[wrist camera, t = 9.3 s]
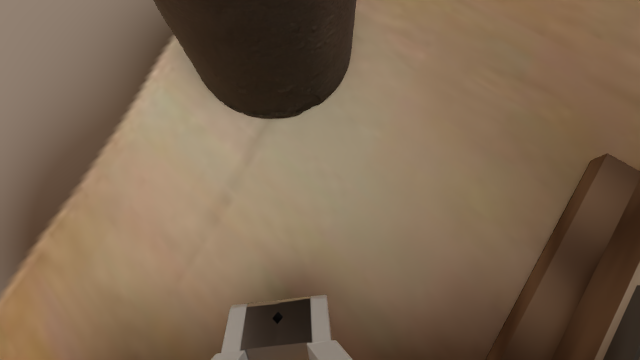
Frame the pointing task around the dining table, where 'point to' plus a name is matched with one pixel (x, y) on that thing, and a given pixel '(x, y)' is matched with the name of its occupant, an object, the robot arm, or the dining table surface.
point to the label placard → (584, 277)
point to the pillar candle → (265, 50)
